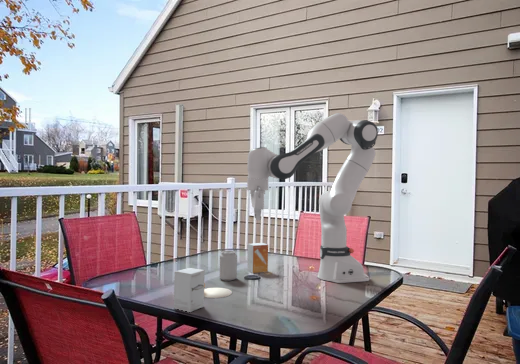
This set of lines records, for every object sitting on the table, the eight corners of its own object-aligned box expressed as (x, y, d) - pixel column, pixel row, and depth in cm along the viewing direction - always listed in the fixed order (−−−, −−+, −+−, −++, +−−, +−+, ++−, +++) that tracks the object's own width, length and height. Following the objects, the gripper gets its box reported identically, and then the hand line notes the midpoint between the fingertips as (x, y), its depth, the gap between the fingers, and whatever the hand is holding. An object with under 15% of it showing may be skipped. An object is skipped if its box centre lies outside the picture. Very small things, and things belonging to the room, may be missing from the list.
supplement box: (189, 313, 124) (190, 274, 124) (173, 308, 128) (173, 271, 128) (204, 307, 130) (205, 269, 130) (188, 303, 134) (188, 266, 134)
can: (234, 281, 164) (234, 253, 164) (217, 280, 165) (217, 252, 165) (238, 277, 171) (238, 250, 171) (222, 276, 172) (222, 249, 172)
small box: (252, 273, 178) (253, 245, 178) (247, 270, 184) (247, 243, 184) (268, 271, 182) (268, 244, 182) (262, 269, 188) (262, 242, 188)
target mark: (231, 287, 154) (231, 287, 154) (232, 297, 141) (232, 297, 141) (199, 288, 153) (199, 287, 153) (196, 298, 140) (196, 297, 140)
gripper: (267, 186, 151) (267, 221, 151) (263, 185, 171) (262, 216, 171) (251, 186, 150) (251, 221, 150) (248, 185, 171) (248, 216, 171)
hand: (257, 219), depth 161 cm, fingers open, 8 cm apart
